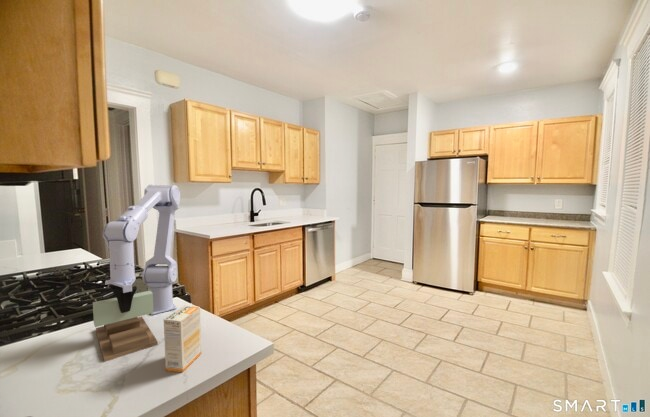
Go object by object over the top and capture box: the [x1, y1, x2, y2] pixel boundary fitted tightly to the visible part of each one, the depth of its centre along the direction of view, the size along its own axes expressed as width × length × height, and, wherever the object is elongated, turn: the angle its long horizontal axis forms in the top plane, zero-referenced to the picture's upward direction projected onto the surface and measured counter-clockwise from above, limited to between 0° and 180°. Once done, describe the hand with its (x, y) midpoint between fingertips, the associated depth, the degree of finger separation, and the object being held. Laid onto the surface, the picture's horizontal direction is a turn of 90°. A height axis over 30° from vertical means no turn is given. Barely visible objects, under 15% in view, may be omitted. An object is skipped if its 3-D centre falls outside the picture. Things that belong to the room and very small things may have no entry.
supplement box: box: [163, 305, 202, 373], centre depth 75 cm, size 8×5×13 cm, turn 171°
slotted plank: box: [95, 316, 158, 362], centre depth 86 cm, size 20×12×3 cm, turn 42°
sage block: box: [92, 291, 154, 328], centre depth 85 cm, size 14×3×6 cm, turn 132°
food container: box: [132, 271, 149, 294], centre depth 114 cm, size 12×6×10 cm, turn 84°
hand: (124, 309), depth 85 cm, fingers closed on sage block, 3 cm apart
